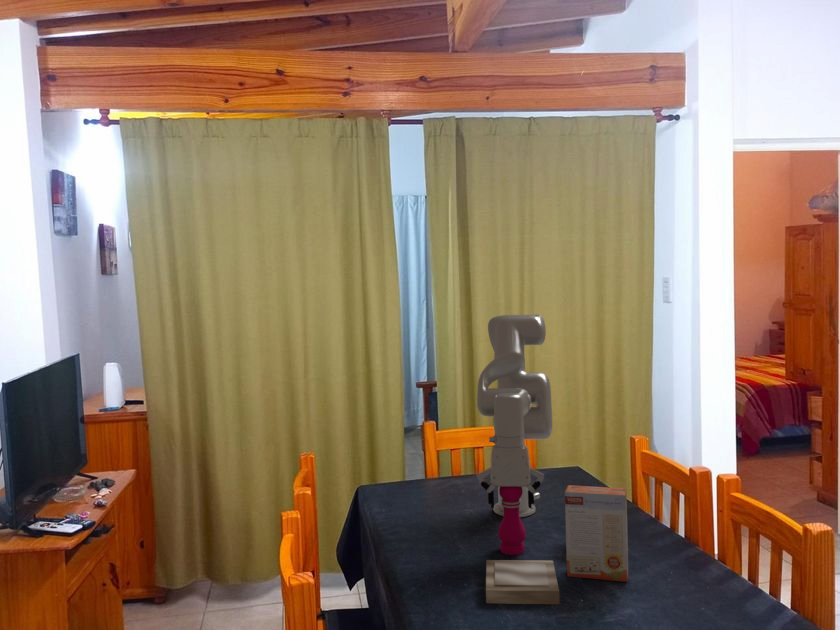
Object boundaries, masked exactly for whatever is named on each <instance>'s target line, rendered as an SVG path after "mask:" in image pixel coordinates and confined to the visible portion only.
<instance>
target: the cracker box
mask: <svg viewBox="0 0 840 630" xmlns="http://www.w3.org/2000/svg"><path fill="white" fill-rule="evenodd" d="M627 501H628V500H627V488H623V487H609V486H608V487H605V486H589V485H587V486H586V485H573V484H572V485H571V484H570V485H569V484H568V485H567V487H566V489H565V492H564V504H565V505H564V508H565V509H564V510H565V513H564V514H565V516H564V518H565V549H566V555H565V556H566V576H567V577H571V578H581V579H590V580H591V579H593V580H600V581H601V580H602V581H603V580H605V581H611V582H612V581H613V582H620V583H621V582H623V583H626V582H628V578H629V544H628V543H629V542H628V541H629V540H628V539H629V538H628V537H629V535H628V505H627V504H628V503H627Z"/></svg>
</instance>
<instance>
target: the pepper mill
mask: <svg viewBox="0 0 840 630" xmlns="http://www.w3.org/2000/svg"><path fill="white" fill-rule="evenodd" d="M522 492H523V491H522V487H500V489H499V493H500V496H501V497H502V498H503V499H502V500H501V501H502V506H503V508H504V516H502V517H503V518H502V520H501V523H500V524H499V527H498V530H497V531H498V532H497V537H498V538H499V540H500V541H501V542H500V549H499V550H500V552H501V553H503V554H505V555H508V556H518V555H521V554H523V553H524V552H525V549H526V548H525V542H524V541H525V539H527V538H526V537H527V533H526V527H525V525H524V524H523V521H522V519H521V517H520V515H519V506H521V503H520V502H521V500H520V497H521V496H522Z"/></svg>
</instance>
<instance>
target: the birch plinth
mask: <svg viewBox="0 0 840 630" xmlns="http://www.w3.org/2000/svg"><path fill="white" fill-rule="evenodd" d="M485 563H486V564H485V566H486V569H485V570H486V571H485V572H486V574H485V598H486V599H485V602H486V604H504V605H506V604H509V605H511V604H513V605H516V604H517V605H519V604H520V605H560V589H559V584H558V578H557V574H556V569H555V564H554V560H540V559H539V560H537V559H536V560H534V559H533V560H532V559H531V560H522V559H521V560H520V559H519V560H518V559H517V560H516V559H515V560H513V559H511V560H509V559H506V560H505V559H498V560H497V559H494V560H493V559H486V562H485Z"/></svg>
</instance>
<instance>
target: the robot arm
mask: <svg viewBox="0 0 840 630" xmlns="http://www.w3.org/2000/svg"><path fill="white" fill-rule="evenodd" d="M546 329H547V328H546V324H545V320H544V317H543V315H541V314H505V315H504V314H503V315H497V316H494V317H491V318H490V319H489V320H488V324H487V330H488V331H487V332H488V338H489V341H490V345H491V348H492V350H493V351H494V359H492V361H490V362H489V363H488V364H487V365H486V366H485V367H484V369H482V372H481V373H480V375H479V378H478V380H477V381H478V382H477V391H476V392H477V396H476V398H477V399H476V405H477V410H478V412H479V413H480V415H482V416H484V417H492V424H493V425H492V426H493V432H494V435H493V436H489V437H488V439H489V440H488V441H489V443H492V444H494V445H493V446H492V448H491V453H490V467H489V468H486V469H485V470H483V471H481V472H479V473H477V474H476V478H477V480H478V482H479V484H480V486H481V487H482V488H484V490H485V491H486V492H487V494H488V497H487V499H488V505H491V509H493V512H494V513H495V514H497V515H499V516H501V517H503V516H504V508H503V506H502V501H501V500H502V499H503V498H502V497H501V496H500V493H499V489H500V487H522V491H523V492H522V496H521V497H520V500H521V502H520V503H521V506H519V515H520V518H524V517H528V516H532V515H533V514H535V513H536V505H535V500H538V499H540V498H541V495H540V493H539V492H538V491H536V490H537V489H538V488H539V487H541V485H542V482H543V481H544V479H545V474H544V473H543V472H540V471H539V470H536V469H534V468H533V467H531V465H530V464H531V463H530V454H529V450H528V446H527V445H525V440H545V439H548V438H550V437H551V436H552V433H553V411H552V390H551V382H550V379H549V377H548V376H547V375H546V374H545V373H543V372H526V359H525V346H541V345H542V344H544V343H545V341H546V340H545V339H546V334H547V332H546ZM496 381H497V387H496V388H495V387H494V388H490V387H489V386H491V384H493V383H494V382H496ZM532 405H534V406H532ZM489 475H490V482H489V483H488V482H486V480H485V477H487V476H489ZM531 475H532V476H535V477H536V481H535V480H534V481H535V482H534V483H532V482H531ZM496 487H497V496H498V502H496V503H495V497H494V495H495V492H494V491H495V490H494V489H495V488H496Z"/></svg>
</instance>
